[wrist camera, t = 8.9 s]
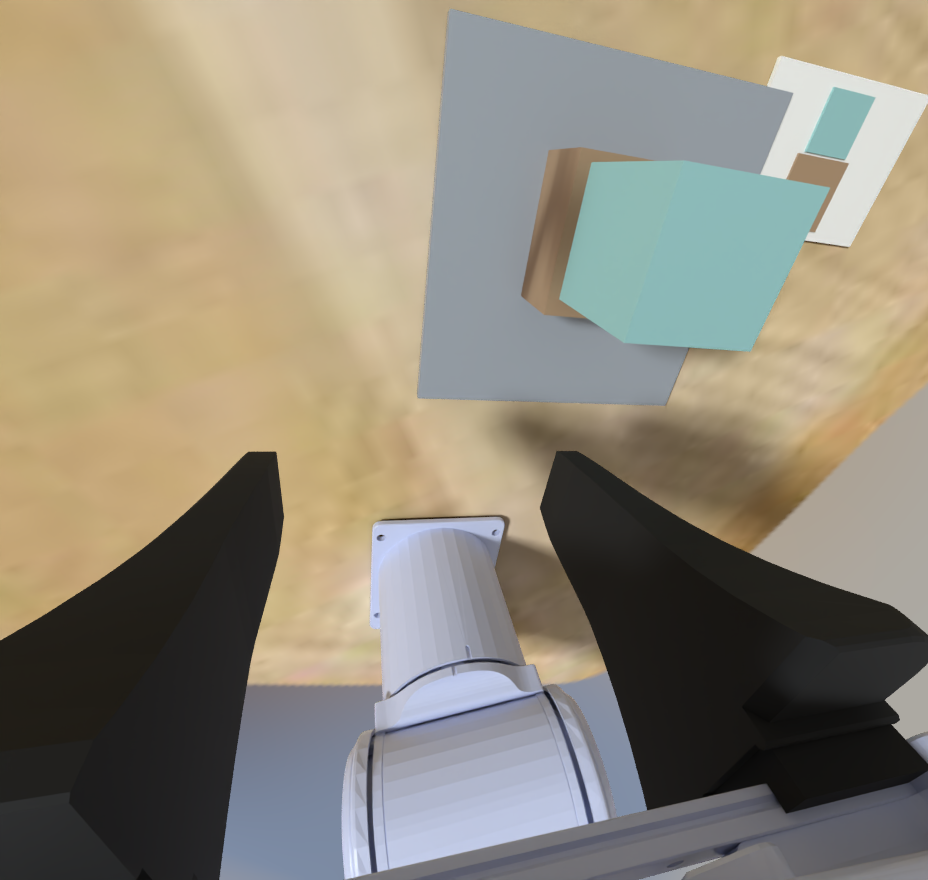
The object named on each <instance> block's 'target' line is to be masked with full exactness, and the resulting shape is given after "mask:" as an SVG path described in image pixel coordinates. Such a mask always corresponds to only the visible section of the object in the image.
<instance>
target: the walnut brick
mask: <svg viewBox="0 0 928 880" xmlns="http://www.w3.org/2000/svg"><path fill="white" fill-rule="evenodd" d="M626 161H655V160H649V159H644V158H638V157H633V156H627V155H622V154H616V153H611V152H605V151H600V150H594V149H589V148H583V147H578V148H566V149H555V150H549V151H548V157H547V162H546V167H545V172H544V177H543V183H542V188H541V193H540V198H539V204H538V209H537V214H536V219H535V224H534V230H533V235H532V240H531V245H530V251H529V256H528V261H527V266H526V271H525V277H524V282H523V287H522V292H521V297H523V298H524V299H525V300H526V301H528V302H529V303H530V304H531V305H532V306H534V307H535V308H536V309H537V310H539V311H540V312H541V313H542V314H543V315H550V316H563V317H575V318H586V317H585V316H583V315H582V314H580V313H579V312H577V311H576V310H574V309H573V308H571V307H570V306H568V305H567V304H565V303H564V302H563V301H561V300H560V299H559V298H560V293H561V289H562V285H563V281H564V277H565V272H566V268H567V264H568V260H569V256H570V251H571V247H572V243H573V239H574V234H575V230H576V226H577V222H578V218H579V213H580V209H581V205H582V201H583V196H584V192H585V188H586V184H587V180H588V175H589V171H590V167H591V163H592V162H626Z"/></svg>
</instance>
